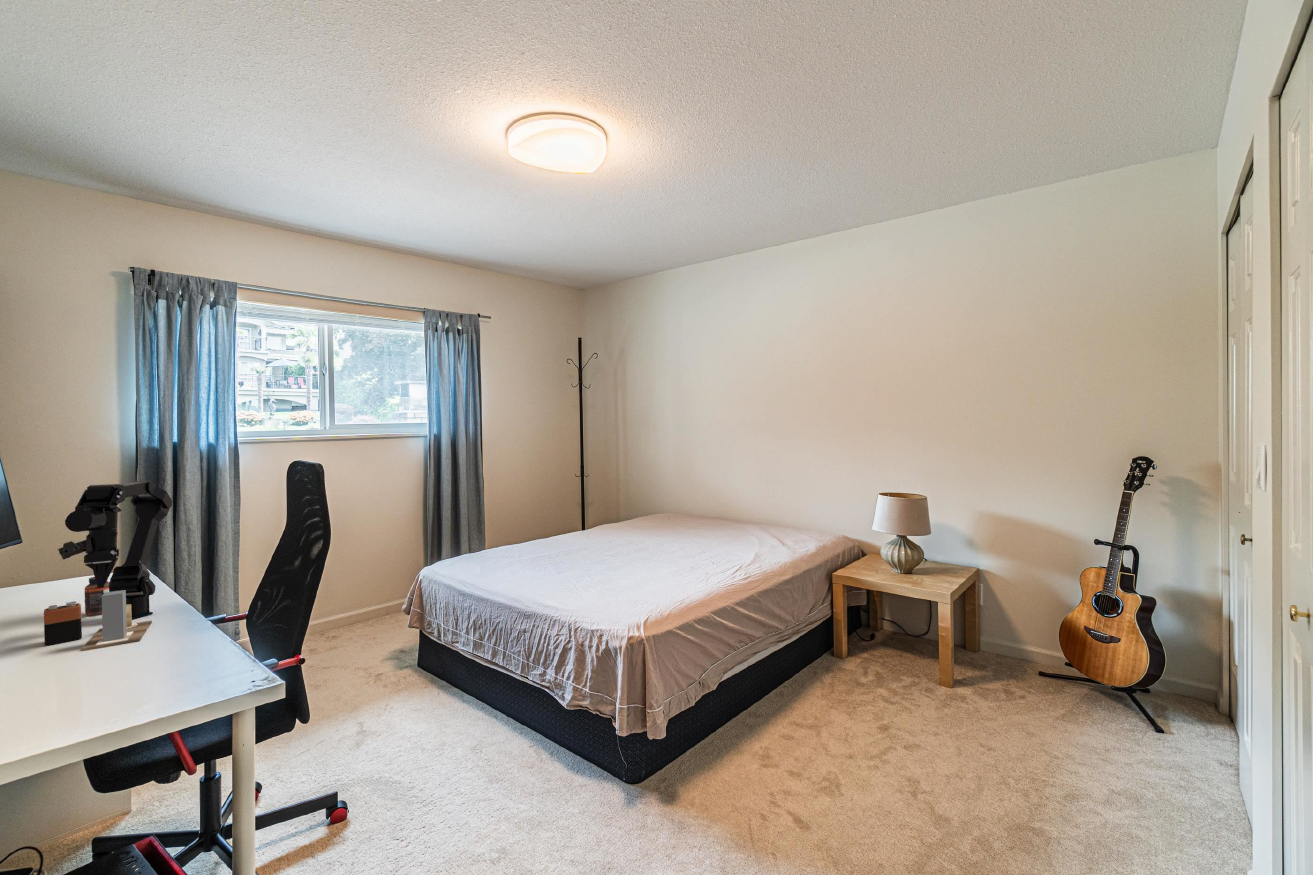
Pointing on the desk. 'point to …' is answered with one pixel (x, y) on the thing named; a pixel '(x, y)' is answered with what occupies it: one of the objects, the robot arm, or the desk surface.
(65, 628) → the battery
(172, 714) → the desk surface
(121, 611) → the leg
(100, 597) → the supplement bottle
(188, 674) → the desk surface
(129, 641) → the board
